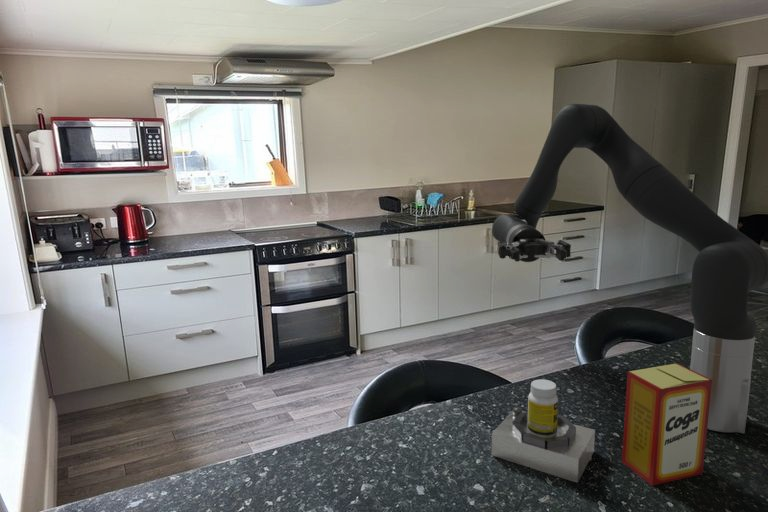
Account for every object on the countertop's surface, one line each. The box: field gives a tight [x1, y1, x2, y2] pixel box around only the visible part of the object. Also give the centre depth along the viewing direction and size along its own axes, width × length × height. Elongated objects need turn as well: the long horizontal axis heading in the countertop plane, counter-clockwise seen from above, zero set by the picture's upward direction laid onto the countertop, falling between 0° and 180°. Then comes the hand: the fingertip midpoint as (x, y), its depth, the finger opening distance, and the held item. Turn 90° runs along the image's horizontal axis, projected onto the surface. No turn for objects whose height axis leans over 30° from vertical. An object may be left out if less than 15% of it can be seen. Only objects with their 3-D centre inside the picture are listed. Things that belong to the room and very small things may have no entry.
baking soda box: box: [621, 363, 712, 487], centre depth 82 cm, size 10×6×16 cm
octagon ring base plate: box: [491, 406, 596, 484], centre depth 88 cm, size 14×10×5 cm
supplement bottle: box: [527, 379, 559, 438], centre depth 87 cm, size 5×5×8 cm
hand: (540, 256), depth 103 cm, fingers open, 8 cm apart
